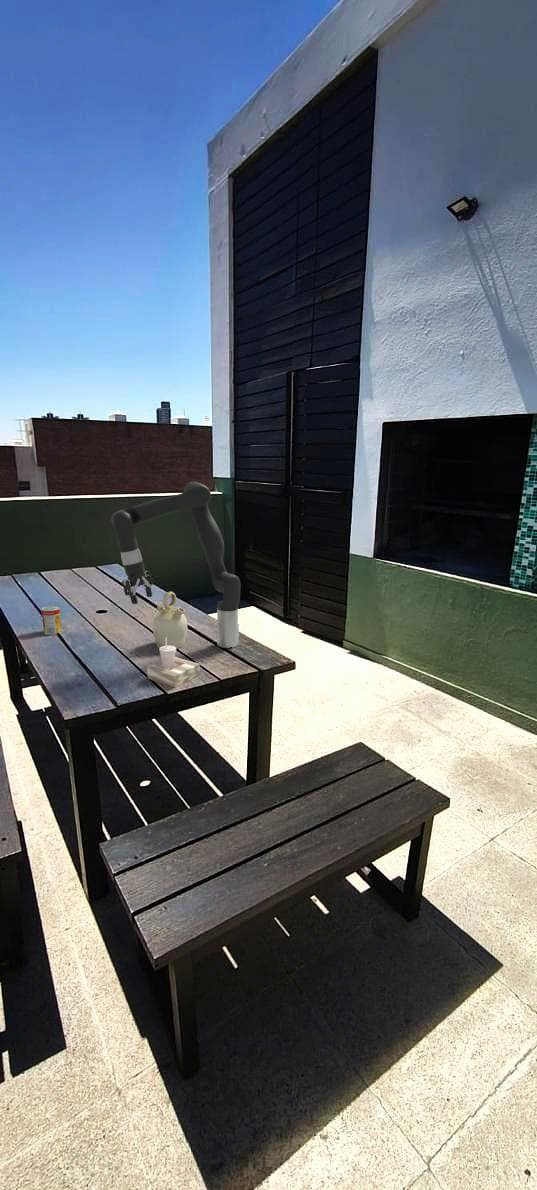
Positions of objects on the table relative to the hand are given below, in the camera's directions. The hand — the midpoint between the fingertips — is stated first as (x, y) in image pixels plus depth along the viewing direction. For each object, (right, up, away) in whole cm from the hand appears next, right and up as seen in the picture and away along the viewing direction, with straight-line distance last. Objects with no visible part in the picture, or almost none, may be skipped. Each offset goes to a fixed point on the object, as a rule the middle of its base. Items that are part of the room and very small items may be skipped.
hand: (142, 600), depth 196 cm
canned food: (-53, -16, +38) cm, 67 cm away
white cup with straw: (+12, -28, -7) cm, 31 cm away
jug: (+6, -21, +26) cm, 34 cm away
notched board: (+14, -29, -8) cm, 33 cm away
